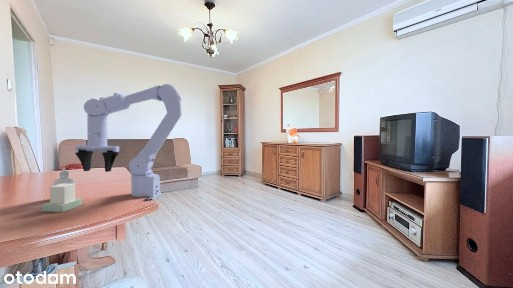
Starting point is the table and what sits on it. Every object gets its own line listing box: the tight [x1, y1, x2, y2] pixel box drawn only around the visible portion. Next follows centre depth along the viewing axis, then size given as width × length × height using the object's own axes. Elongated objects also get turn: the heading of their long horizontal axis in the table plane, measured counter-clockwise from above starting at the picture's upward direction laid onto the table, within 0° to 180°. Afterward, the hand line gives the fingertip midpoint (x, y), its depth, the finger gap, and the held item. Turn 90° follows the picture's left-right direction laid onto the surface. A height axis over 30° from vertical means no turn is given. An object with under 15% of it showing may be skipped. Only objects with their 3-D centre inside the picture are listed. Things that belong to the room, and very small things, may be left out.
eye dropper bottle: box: [53, 167, 76, 186], centre depth 75 cm, size 4×6×12 cm
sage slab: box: [40, 197, 83, 212], centre depth 65 cm, size 6×6×2 cm
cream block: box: [49, 183, 76, 204], centre depth 65 cm, size 4×4×5 cm
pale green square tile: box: [36, 203, 86, 214], centre depth 65 cm, size 8×8×2 cm
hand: (97, 171), depth 77 cm, fingers open, 7 cm apart
